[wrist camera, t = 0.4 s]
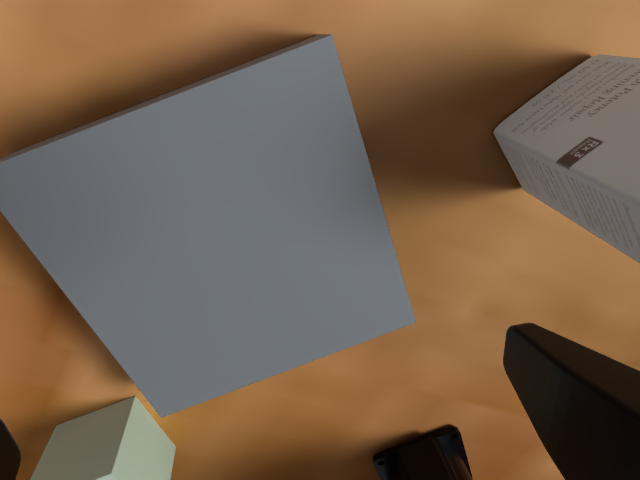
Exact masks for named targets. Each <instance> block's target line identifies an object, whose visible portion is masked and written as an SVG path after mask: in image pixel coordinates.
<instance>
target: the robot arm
mask: <svg viewBox="0 0 640 480" xmlns="http://www.w3.org/2000/svg"><path fill="white" fill-rule="evenodd" d="M503 364H504V368H505V371H506V374H507V376H508V378H509V379H510V381H511V383H512V385H513V387H514V389H515V391H516V393H517V395H518V397H519V399H520V401H521V403H522V405H523V407H524V409H525V411H526V412H527V414H528V416H529V418H530V420H531V422H532V424H533V426H534V428H535V430H536V432H537V434H538V436H539V438H540V439H541V441H542V443H543V445H544V447H545V449H546V450H547V452H548V453H549V455H550V457H551V458H552V460H553V462H554V463H555V465H556V466H557V468H558V469H559V471H560V472H561V474H562V476H563V477H564V479H565V480H640V371H638V370H636V369H634V368H632V367H629V366H627V365H625V364H623V363H620V362H618V361H616V360H614V359H611V358H609V357H607V356H605V355H603V354H600V353H598V352H596V351H594V350H591V349H589V348H587V347H585V346H582V345H580V344H578V343H576V342H574V341H571V340H569V339H567V338H565V337H562V336H560V335H558V334H556V333H553V332H551V331H549V330H547V329H544V328H542V327H540V326H538V325H536V324H533V323H524V324H518V325H513V326H510V327H509V328H508V330H507V333H506V341H505V349H504V356H503ZM20 460H21V454H20V449H19V447H18V445H17V444H16V442H15V440H14V439H13V437H12V436H11V434H10V432H9V431H8V429H7V427H6V426H5V424H4V422H3V421H2V420H0V480H16V476H17V473H18V469H19V466H20ZM373 463H374V466H375V468H376V470H377V473H378V475H379V477H380V479H381V480H472V475H471V471H470V467H469V463H468V460H467V456H466V452H465V449H464V445H463V441H462V437H461V434H460V432H459V430H458V428H457V427H455V426H452V427H449V428H446V429H443V430H441V431H438V432H435V433H433V434H430V435H427V436H424V437H422V438H419V439H416V440H414V441H411V442H408V443H406V444H403V445H400V446H398V447H395V448H392V449H389V450H387V451H384V452H381V453H379V454H376V455H375V456H374V457H373Z"/></svg>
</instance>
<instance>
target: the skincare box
mask: <svg viewBox="0 0 640 480" xmlns="http://www.w3.org/2000/svg"><path fill="white" fill-rule="evenodd" d="M493 134H494V135H495V137H496V139H497V141H498V143H499V145H500V147H501V149H502V151H503V153H504V154H505V157H506V158H507V160H508V162H509V164H510V166H511V168H512V170H513V172H514V173H515V175H516V177H517V179H518V181H519V182H520V184H521V186H522V189H523V190H524V191H526V192H527V193H529V194H531V195H532V196H534V197H535V198H537V199H539V200H540V201H542V202H544V203H545V204H547V205H548V206H550V207H552V208H553V209H555V210H556V211H558V212H560V213H561V214H563V215H564V216H566V217H567V218H569V219H570V220H572V221H574V222H575V223H577V224H578V225H580V226H581V227H583V228H585V229H586V230H588V231H589V232H591V233H592V234H594V235H596V236H597V237H599V238H600V239H602V240H604V241H605V242H607V243H608V244H610V245H612V246H613V247H615V248H616V249H618V250H620V251H621V252H623V253H624V254H626V255H628V256H629V257H631V258H632V259H634V260H635V261H637V262H639V263H640V59H639V58H629V57H620V56H610V55H600V54H599V55H596V56H593V57H591V58H589V59H587V60H585V61H584V62H582V63H581V64H579V65H578V66H577V67H575V68H574V69H572V70H571V71H569V72H568V73H566V74H565V75H564V76H562V77H561V78H559V79H558V80H556V81H555V82H554V83H552V84H551V85H549V86H548V87H547V88H545V89H544V90H543V91H541V92H540V93H539V94H537V95H536V96H535V97H533V98H532V99H531V100H529V101H528V102H527V103H525V104H524V105H523V106H522V107H520V108H519V109H518V110H516V111H515V112H514V113H513V114H511V115H510V116H509V117H507V118H506V119H505V120H504V121H502V122H501V123H500V124H499V125H498V126H497V127H496V128H495V130H494V132H493Z"/></svg>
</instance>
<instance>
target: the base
mask: <svg viewBox="0 0 640 480" xmlns="http://www.w3.org/2000/svg"><path fill="white" fill-rule="evenodd" d="M0 211H1V213H2V214H3V215H4V217H5V218H6V219H7V220H8V222H9V223H10V224H11V225H12V227H13V228H14V229H15V231H16V232H17V233H18V234H19V236H20V237H21V238H22V240H23V241H24V242H25V243H26V245H27V246H28V247H29V249H30V250H31V251H32V252H33V254H34V255H35V256H36V258H37V259H38V260H39V261H40V263H41V264H42V265H43V267H44V268H45V269H46V270H47V272H48V273H49V274H50V276H51V277H52V278H53V279H54V281H55V282H56V283H57V285H58V286H59V287H60V288H61V290H62V291H63V292H64V293H65V295H66V296H67V297H68V299H69V300H70V301H71V302H72V304H73V305H74V306H75V308H76V309H77V310H78V311H79V313H80V314H81V315H82V317H83V318H84V319H85V320H86V322H87V323H88V324H89V326H90V327H91V328H92V329H93V331H94V332H95V333H96V335H97V336H98V337H99V338H100V340H101V341H102V342H103V344H104V345H105V346H106V347H107V349H108V350H109V351H110V353H111V354H112V355H113V356H114V358H115V359H116V360H117V362H118V363H119V364H120V365H121V367H122V368H123V369H124V370H125V372H126V373H127V374H128V376H129V377H130V378H131V379H132V381H133V382H134V383H135V385H136V386H137V387H138V388H139V390H140V391H141V392H142V394H143V395H144V396H145V397H146V399H147V400H148V401H149V403H150V404H151V405H152V406H153V408H154V409H155V410H156V412H157V413H158V414H159V415H160V417H161V418H162V417H165V416H167V415H170V414H173V413H175V412H178V411H181V410H183V409H186V408H189V407H191V406H194V405H197V404H199V403H202V402H205V401H207V400H210V399H213V398H215V397H218V396H221V395H223V394H226V393H229V392H231V391H234V390H237V389H239V388H242V387H245V386H247V385H250V384H253V383H255V382H258V381H261V380H263V379H266V378H269V377H271V376H274V375H277V374H279V373H282V372H285V371H287V370H290V369H293V368H295V367H298V366H301V365H303V364H306V363H309V362H311V361H314V360H317V359H319V358H322V357H325V356H327V355H330V354H333V353H335V352H338V351H341V350H343V349H346V348H349V347H351V346H354V345H357V344H359V343H362V342H365V341H367V340H370V339H373V338H375V337H378V336H381V335H383V334H386V333H389V332H391V331H394V330H397V329H399V328H402V327H405V326H407V325H410V324H413V323H415V318H414V315H413V311H412V308H411V304H410V301H409V297H408V294H407V291H406V287H405V284H404V280H403V277H402V273H401V270H400V267H399V263H398V260H397V256H396V253H395V249H394V246H393V242H392V239H391V236H390V232H389V229H388V225H387V222H386V218H385V215H384V212H383V208H382V205H381V201H380V198H379V194H378V191H377V187H376V184H375V181H374V177H373V174H372V170H371V167H370V163H369V160H368V157H367V153H366V150H365V146H364V143H363V139H362V136H361V132H360V129H359V126H358V122H357V119H356V115H355V112H354V108H353V105H352V102H351V98H350V95H349V91H348V88H347V84H346V81H345V77H344V74H343V71H342V67H341V64H340V60H339V57H338V53H337V50H336V47H335V43H334V40H333V36H332V35H326V34H319V35H316V36H314V37H311V38H309V39H306V40H303V41H301V42H298V43H296V44H293V45H290V46H288V47H285V48H283V49H280V50H277V51H275V52H272V53H270V54H267V55H264V56H262V57H259V58H257V59H254V60H251V61H249V62H246V63H244V64H241V65H238V66H236V67H233V68H231V69H228V70H225V71H223V72H220V73H218V74H215V75H212V76H210V77H207V78H205V79H202V80H199V81H197V82H194V83H192V84H189V85H186V86H184V87H181V88H179V89H176V90H173V91H171V92H168V93H166V94H163V95H160V96H158V97H155V98H153V99H150V100H147V101H145V102H142V103H140V104H137V105H134V106H132V107H129V108H127V109H124V110H122V111H119V112H116V113H114V114H111V115H109V116H106V117H103V118H101V119H98V120H96V121H93V122H90V123H88V124H85V125H83V126H80V127H77V128H75V129H72V130H70V131H67V132H64V133H62V134H59V135H57V136H54V137H51V138H49V139H46V140H44V141H41V142H38V143H36V144H33V145H31V146H28V147H25V148H23V149H20V150H18V151H15V152H12V153H10V154H8V155H6V156H4V157H3V158H1V159H0Z"/></svg>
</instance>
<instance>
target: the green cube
mask: <svg viewBox="0 0 640 480" xmlns="http://www.w3.org/2000/svg"><path fill="white" fill-rule="evenodd" d="M175 449H176V447H175V445H174V444H173V443H172V442H171V440H170V439H169V438H168V436H167V435H166V434H165V433H164V431H163V430H162V429H161V428H160V426H159V425H158V424H157V423H156V421H155V420H154V419H153V418H152V416H151V415H150V414H149V413H148V411H147V410H146V409H145V408H144V406H143V405H142V404H141V403H140V401H139V400H138V399H137V397H136V396H134V397H131V398H128V399H126V400H123V401H120V402H118V403H115V404H112V405H110V406H107V407H104V408H102V409H99V410H96V411H94V412H91V413H88V414H86V415H83V416H80V417H78V418H75V419H72V420H70V421H67V422H64V423H62V424H59V425H56V427H55V429H54V431H53V433H52V435H51V437H50V439H49V441H48V443H47V446H46V448H45V450H44V452H43V454H42V456H41V458H40V460H39V462H38V464H37V466H36V468H35V470H34V472H33V474H32V477H31V479H30V480H170V479H171V473H172V467H173V461H174V455H175Z"/></svg>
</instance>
